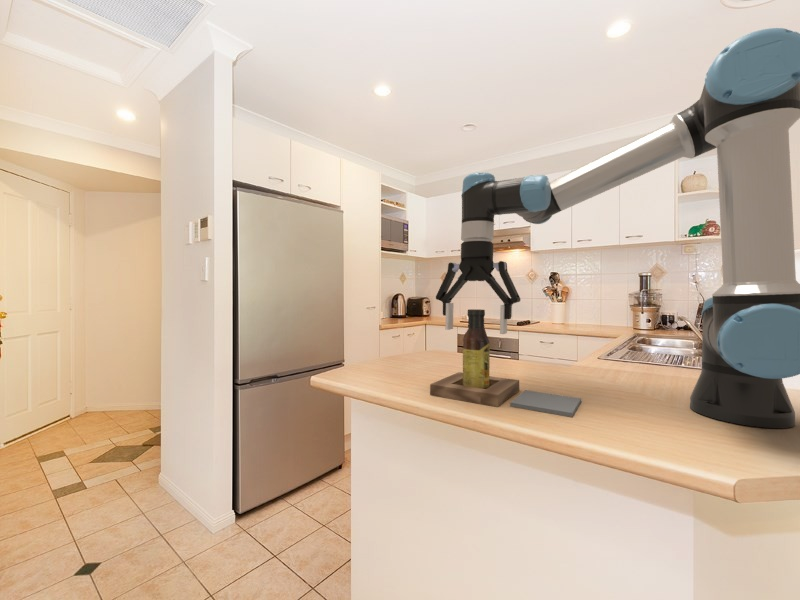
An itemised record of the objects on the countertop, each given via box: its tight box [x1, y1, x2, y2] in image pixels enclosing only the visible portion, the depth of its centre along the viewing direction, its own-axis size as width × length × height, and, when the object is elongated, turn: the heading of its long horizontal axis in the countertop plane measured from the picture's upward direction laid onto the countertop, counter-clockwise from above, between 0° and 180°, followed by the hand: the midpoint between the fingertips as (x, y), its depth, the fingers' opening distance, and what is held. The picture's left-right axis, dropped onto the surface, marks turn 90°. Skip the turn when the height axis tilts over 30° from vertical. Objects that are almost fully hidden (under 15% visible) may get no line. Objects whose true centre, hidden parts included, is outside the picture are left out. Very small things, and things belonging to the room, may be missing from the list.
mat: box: [509, 389, 582, 418], centre depth 79 cm, size 12×12×1 cm
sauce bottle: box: [462, 308, 491, 389], centre depth 88 cm, size 7×6×20 cm
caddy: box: [429, 371, 520, 408], centre depth 88 cm, size 16×16×2 cm
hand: (475, 331), depth 88 cm, fingers open, 13 cm apart
